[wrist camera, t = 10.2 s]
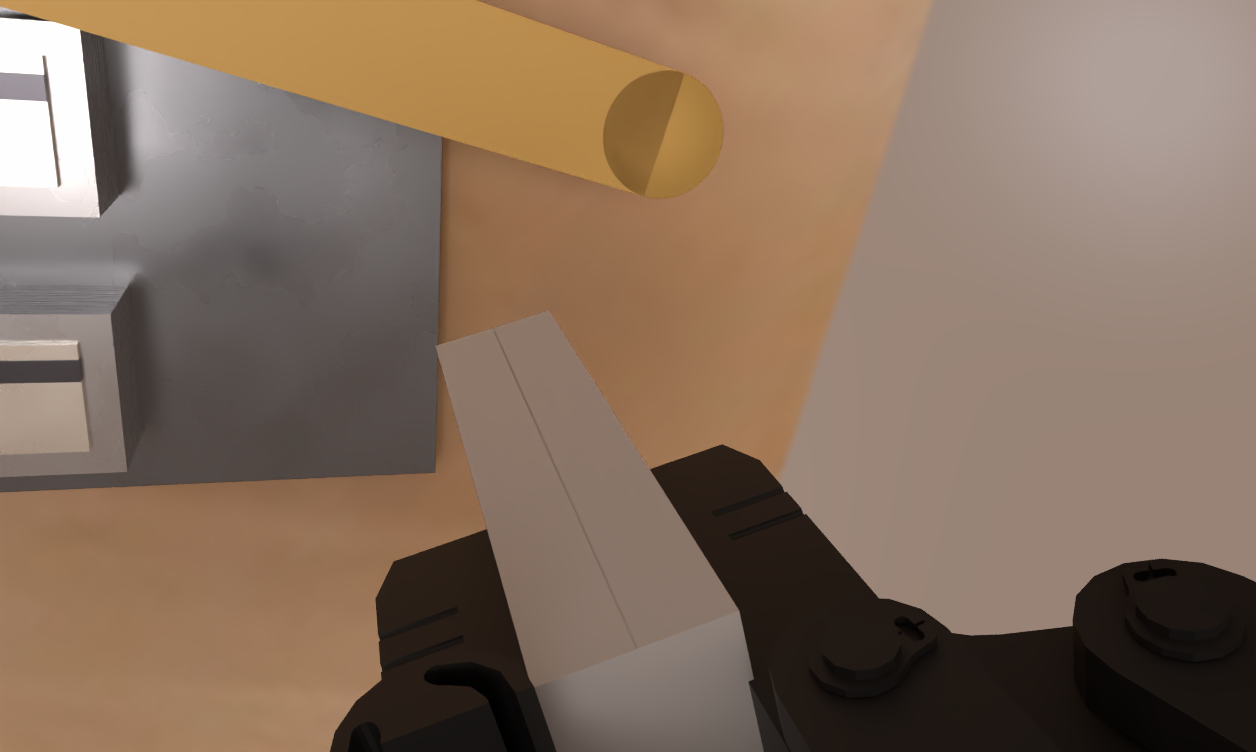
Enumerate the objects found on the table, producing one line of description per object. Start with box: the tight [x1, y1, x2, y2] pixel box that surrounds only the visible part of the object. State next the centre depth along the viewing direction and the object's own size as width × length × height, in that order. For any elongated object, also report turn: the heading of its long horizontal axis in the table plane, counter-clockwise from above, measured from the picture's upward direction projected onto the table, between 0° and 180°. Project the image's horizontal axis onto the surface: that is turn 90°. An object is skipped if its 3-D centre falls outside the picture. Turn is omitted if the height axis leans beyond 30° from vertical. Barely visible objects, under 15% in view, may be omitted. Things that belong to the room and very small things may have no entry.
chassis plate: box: [0, 6, 442, 492], centre depth 25 cm, size 22×18×4 cm
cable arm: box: [0, 0, 723, 199], centre depth 23 cm, size 18×4×6 cm, turn 71°
